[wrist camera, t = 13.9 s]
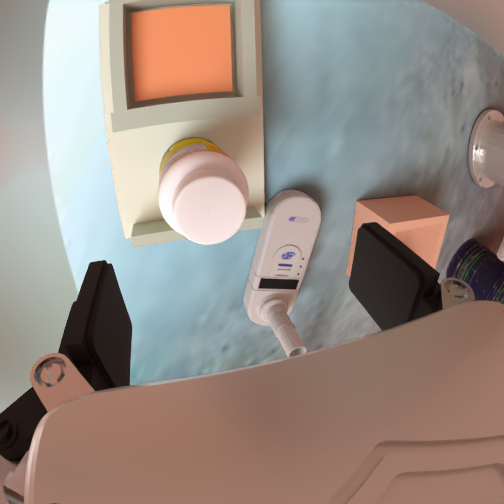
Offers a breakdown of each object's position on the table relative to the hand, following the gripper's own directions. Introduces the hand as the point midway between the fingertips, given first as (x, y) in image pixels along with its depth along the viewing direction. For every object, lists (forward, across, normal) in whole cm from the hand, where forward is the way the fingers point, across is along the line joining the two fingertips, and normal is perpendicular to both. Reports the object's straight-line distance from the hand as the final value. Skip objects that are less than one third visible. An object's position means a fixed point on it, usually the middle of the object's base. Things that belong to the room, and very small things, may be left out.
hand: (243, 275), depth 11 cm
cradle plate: (+16, +1, -10) cm, 19 cm away
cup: (+18, -21, +10) cm, 29 cm away
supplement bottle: (+16, +1, 0) cm, 16 cm away
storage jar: (+18, -43, +19) cm, 50 cm away
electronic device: (+18, -7, +11) cm, 22 cm away
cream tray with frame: (+17, +1, -5) cm, 18 cm away
